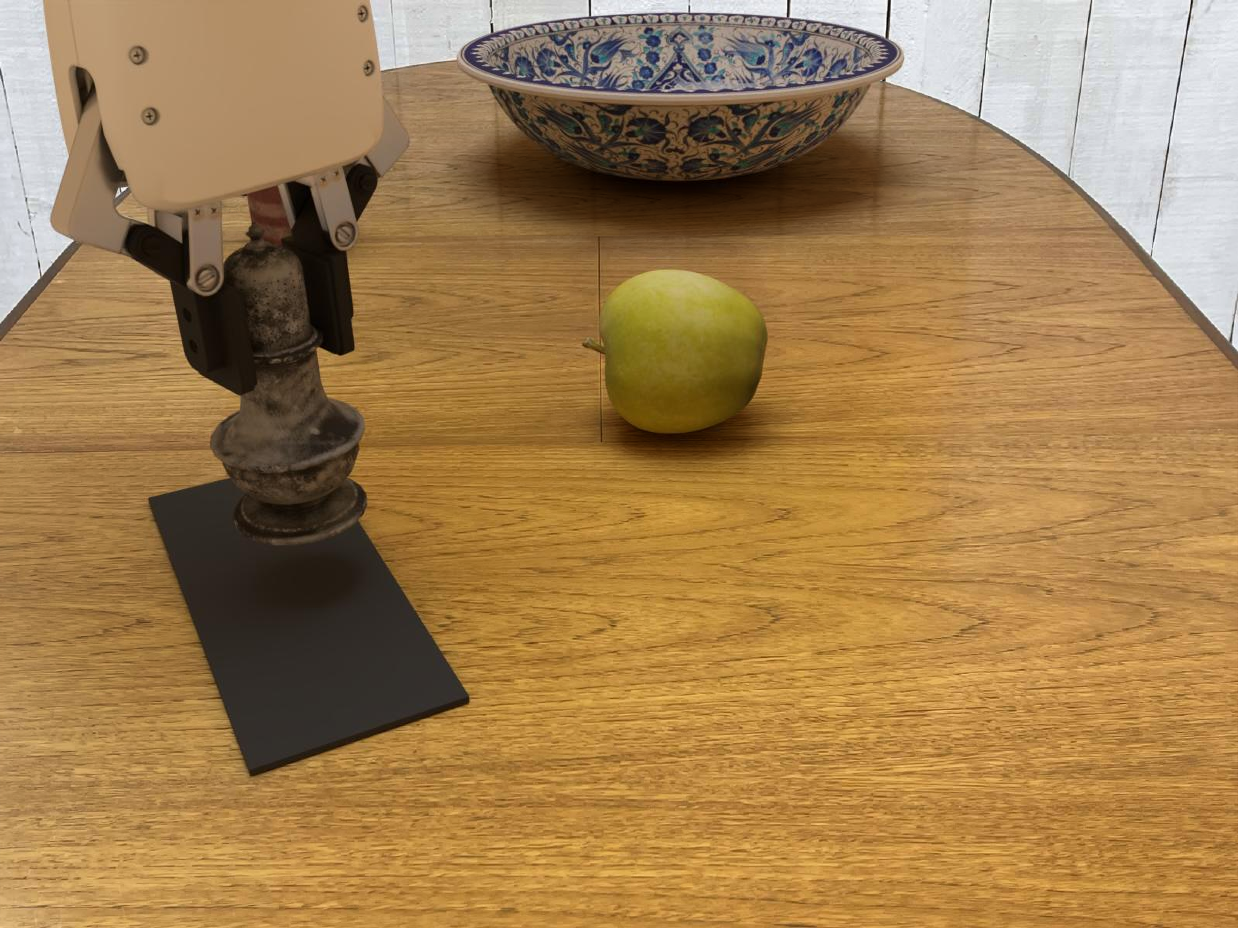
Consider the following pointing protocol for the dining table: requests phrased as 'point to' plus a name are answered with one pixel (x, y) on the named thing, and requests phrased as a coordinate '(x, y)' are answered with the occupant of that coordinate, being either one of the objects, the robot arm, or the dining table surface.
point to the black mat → (300, 631)
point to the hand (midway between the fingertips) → (276, 358)
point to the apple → (680, 350)
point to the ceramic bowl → (679, 88)
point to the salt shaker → (286, 412)
